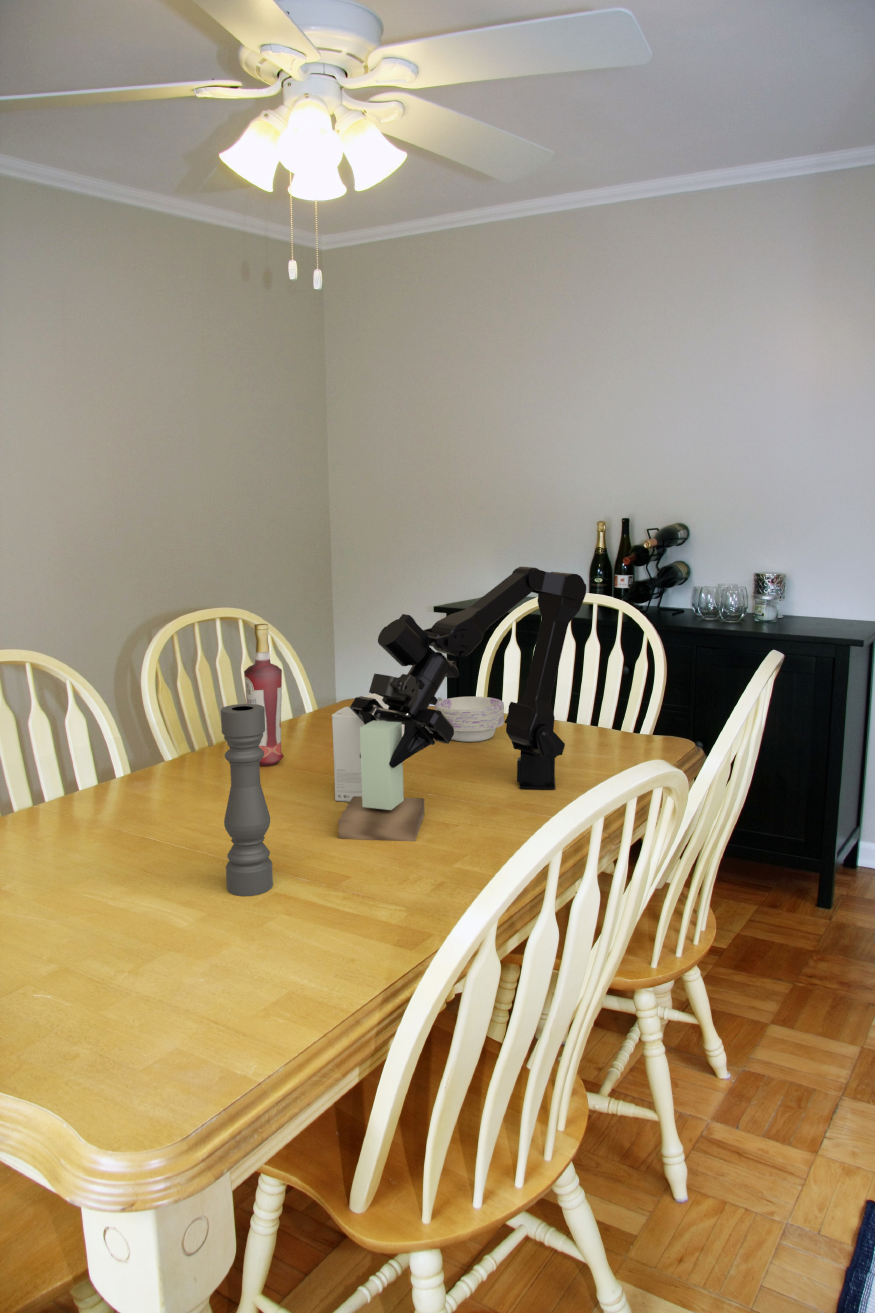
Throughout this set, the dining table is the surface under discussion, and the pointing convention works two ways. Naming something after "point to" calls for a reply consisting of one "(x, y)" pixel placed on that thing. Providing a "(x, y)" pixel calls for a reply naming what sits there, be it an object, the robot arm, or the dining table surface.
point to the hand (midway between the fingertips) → (376, 762)
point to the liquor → (266, 696)
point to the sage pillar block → (380, 765)
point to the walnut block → (382, 821)
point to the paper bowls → (472, 717)
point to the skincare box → (347, 754)
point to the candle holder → (246, 802)
